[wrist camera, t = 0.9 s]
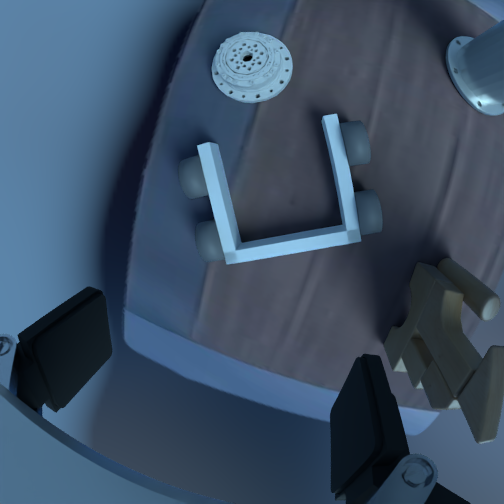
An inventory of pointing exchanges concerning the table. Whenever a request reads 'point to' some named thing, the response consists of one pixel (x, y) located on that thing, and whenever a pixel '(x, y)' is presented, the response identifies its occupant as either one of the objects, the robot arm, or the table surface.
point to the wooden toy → (450, 346)
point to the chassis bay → (234, 251)
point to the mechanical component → (252, 67)
